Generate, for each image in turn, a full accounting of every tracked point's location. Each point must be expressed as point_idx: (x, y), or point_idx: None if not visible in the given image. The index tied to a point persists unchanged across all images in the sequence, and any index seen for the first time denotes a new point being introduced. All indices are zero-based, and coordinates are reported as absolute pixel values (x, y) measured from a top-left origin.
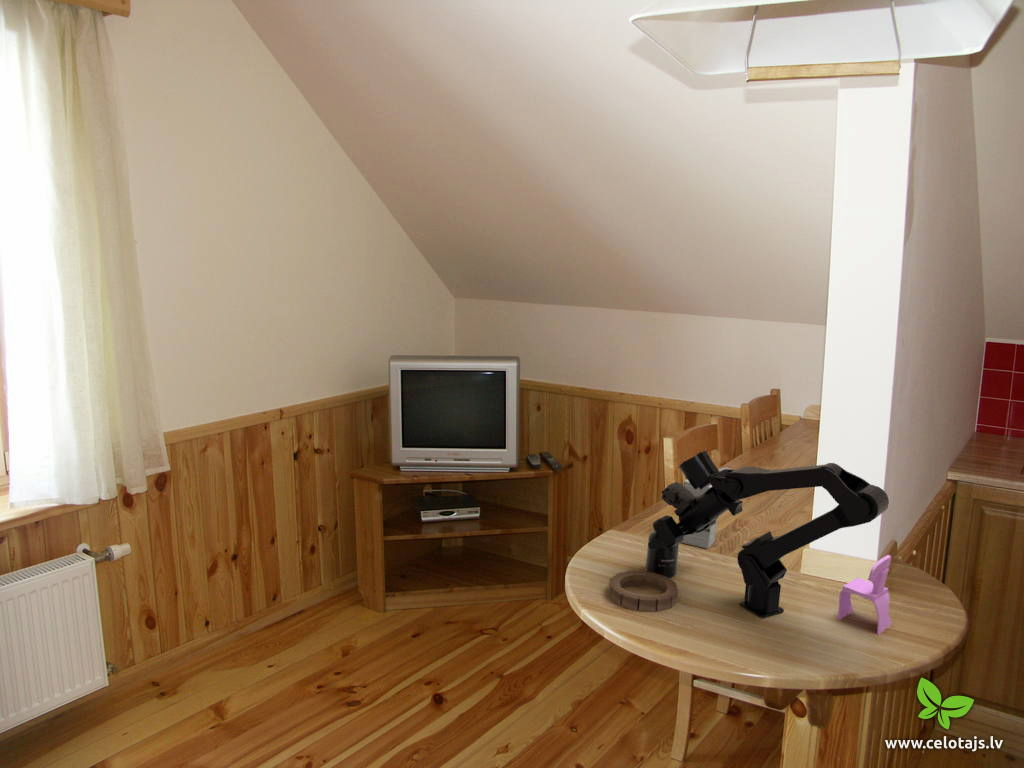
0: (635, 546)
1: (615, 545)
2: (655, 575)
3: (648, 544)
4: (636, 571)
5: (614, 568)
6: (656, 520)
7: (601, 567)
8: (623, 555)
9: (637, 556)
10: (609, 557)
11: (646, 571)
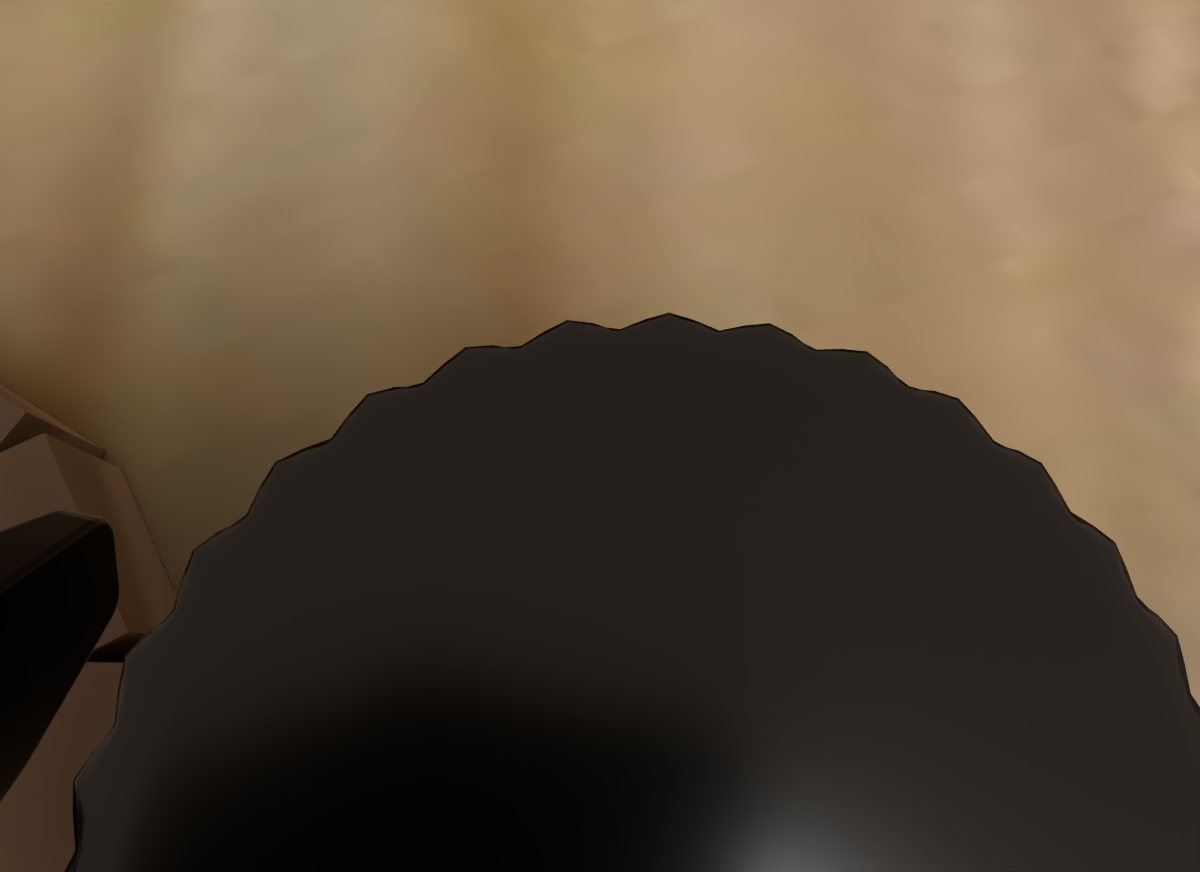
0: (1092, 177)
1: (970, 3)
2: (25, 810)
3: (26, 533)
4: (42, 499)
5: (386, 185)
6: (769, 342)
7: (335, 66)
8: (782, 151)
9: (856, 284)
10: (639, 50)
11: (116, 627)
